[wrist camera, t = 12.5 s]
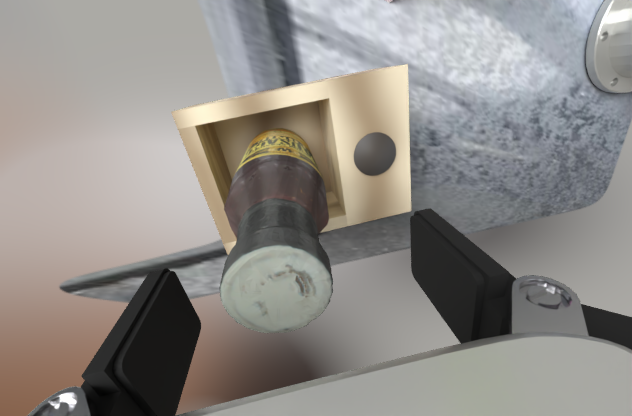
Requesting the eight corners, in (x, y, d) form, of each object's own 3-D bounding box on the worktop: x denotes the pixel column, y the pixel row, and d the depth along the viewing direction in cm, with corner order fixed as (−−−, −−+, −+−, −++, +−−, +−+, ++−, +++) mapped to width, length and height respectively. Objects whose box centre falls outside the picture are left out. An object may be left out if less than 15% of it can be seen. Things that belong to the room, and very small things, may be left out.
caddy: (374, 68, 26) (409, 64, 20) (382, 185, 32) (412, 211, 25) (195, 104, 25) (170, 112, 19) (236, 219, 31) (227, 256, 24)
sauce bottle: (313, 130, 27) (404, 225, 9) (303, 189, 29) (358, 354, 11) (246, 119, 25) (194, 203, 8) (241, 181, 28) (192, 357, 10)
